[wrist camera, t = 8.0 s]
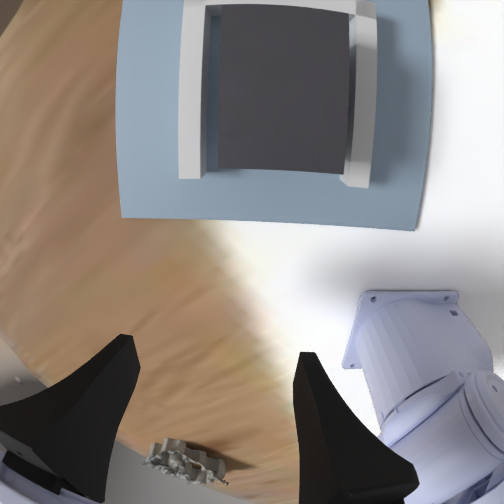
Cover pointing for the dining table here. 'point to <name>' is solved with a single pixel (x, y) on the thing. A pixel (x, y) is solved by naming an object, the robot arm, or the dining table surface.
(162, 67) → the coupler cradle
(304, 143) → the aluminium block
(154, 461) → the egg carton
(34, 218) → the dining table surface
